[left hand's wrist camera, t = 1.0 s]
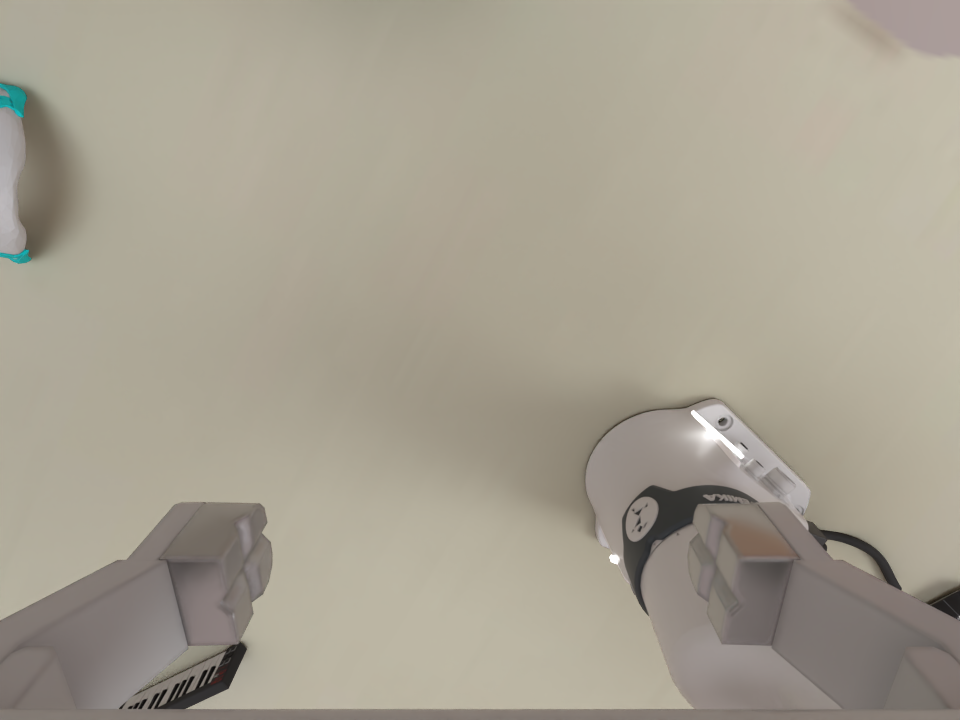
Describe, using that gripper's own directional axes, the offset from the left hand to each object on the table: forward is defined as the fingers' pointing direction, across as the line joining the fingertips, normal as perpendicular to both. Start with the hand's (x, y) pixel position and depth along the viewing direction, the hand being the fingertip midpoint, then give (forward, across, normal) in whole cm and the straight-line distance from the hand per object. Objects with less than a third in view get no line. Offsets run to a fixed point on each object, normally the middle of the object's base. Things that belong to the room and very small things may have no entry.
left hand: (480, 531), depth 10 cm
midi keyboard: (+38, -34, -50) cm, 72 cm away
